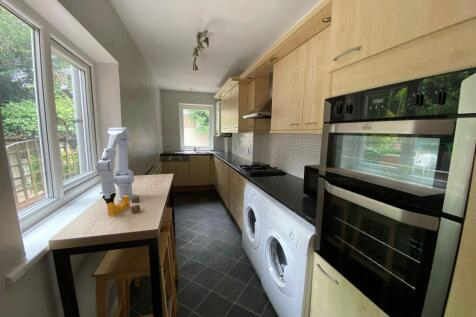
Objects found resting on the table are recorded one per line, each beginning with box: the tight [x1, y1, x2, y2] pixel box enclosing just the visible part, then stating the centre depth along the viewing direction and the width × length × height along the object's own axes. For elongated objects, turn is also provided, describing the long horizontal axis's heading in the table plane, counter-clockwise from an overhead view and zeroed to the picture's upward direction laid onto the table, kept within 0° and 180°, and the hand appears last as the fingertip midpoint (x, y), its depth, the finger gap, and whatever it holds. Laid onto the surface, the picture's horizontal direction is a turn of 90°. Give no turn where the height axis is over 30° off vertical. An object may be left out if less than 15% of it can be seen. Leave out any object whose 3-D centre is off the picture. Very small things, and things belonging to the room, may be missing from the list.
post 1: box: [130, 195, 140, 204], centre depth 112 cm, size 4×4×3 cm
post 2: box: [131, 204, 141, 214], centre depth 99 cm, size 4×4×3 cm
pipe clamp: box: [106, 196, 131, 217], centre depth 100 cm, size 12×4×6 cm, turn 173°
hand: (111, 207), depth 100 cm, fingers closed
